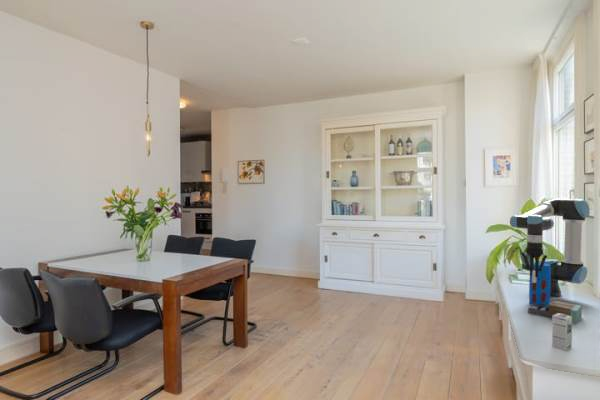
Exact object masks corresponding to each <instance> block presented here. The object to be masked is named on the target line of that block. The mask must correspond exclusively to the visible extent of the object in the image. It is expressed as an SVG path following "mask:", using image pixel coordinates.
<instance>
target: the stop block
mask: <svg viewBox="0 0 600 400" xmlns="http://www.w3.org/2000/svg"><path fill="white" fill-rule="evenodd" d="M582 306H583V305H580V304H575V306H574V307H573V308H572V309H571V316H572V324H574V325H577V324H578V323H579V322H580V321H581V319H582V314H583V313H582V312H583V311H582V310H583V309H582V308H583V307H582Z"/></svg>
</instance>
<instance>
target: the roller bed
mask: <svg viewBox="0 0 600 400" xmlns="http://www.w3.org/2000/svg"><path fill="white" fill-rule="evenodd" d="M527 308H528V309H527V313H528V314H531V315H536V316H540V317H544V318H545V317H546V318H549V319H552V316H553V315H555V313H550V312H548V308H549V306H544V305H539V304H533V305H532V307H530V306H528V307H527Z"/></svg>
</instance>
